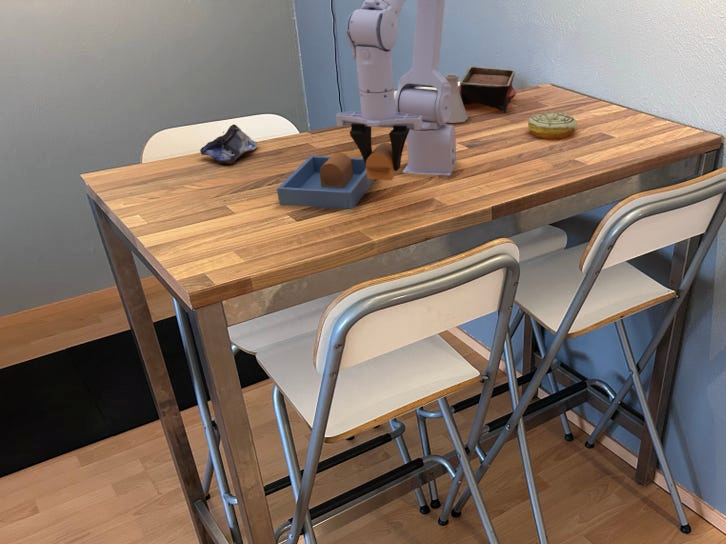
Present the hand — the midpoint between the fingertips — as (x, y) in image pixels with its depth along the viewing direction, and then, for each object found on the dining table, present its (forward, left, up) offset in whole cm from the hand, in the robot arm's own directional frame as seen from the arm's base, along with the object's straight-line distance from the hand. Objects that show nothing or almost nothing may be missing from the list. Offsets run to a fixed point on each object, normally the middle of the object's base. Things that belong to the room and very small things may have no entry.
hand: (383, 168), depth 130 cm
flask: (-3, -51, -7) cm, 51 cm away
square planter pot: (-9, -64, -7) cm, 64 cm away
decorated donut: (-27, -44, -7) cm, 51 cm away
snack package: (+38, -19, -7) cm, 43 cm away
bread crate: (+11, -4, -6) cm, 14 cm away
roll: (+11, -7, -6) cm, 15 cm away
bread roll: (0, 0, -1) cm, 1 cm away
